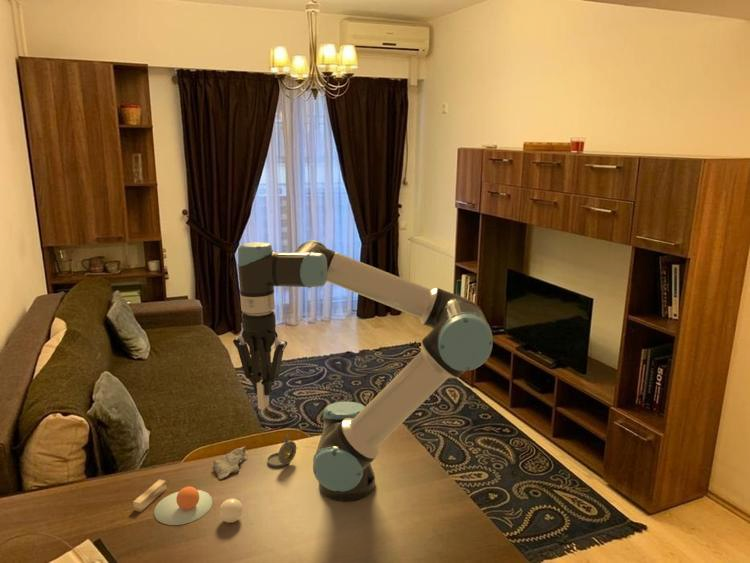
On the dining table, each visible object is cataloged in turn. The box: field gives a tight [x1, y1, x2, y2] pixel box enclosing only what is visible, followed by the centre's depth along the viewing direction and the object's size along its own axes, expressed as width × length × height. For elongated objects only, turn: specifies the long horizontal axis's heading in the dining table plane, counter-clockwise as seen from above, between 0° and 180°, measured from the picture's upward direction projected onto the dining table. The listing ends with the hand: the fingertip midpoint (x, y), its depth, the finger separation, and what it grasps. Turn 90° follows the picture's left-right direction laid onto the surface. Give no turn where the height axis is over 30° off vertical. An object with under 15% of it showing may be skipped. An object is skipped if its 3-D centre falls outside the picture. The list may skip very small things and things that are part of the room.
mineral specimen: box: [212, 446, 249, 480], centre depth 158 cm, size 6×12×4 cm, turn 138°
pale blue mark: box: [153, 489, 213, 526], centre depth 141 cm, size 14×14×1 cm
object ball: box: [176, 486, 199, 510], centre depth 140 cm, size 6×6×6 cm
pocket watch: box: [266, 433, 297, 468], centre depth 160 cm, size 8×8×10 cm
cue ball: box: [219, 498, 244, 524], centre depth 136 cm, size 6×6×6 cm
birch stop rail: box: [132, 479, 168, 513], centre depth 144 cm, size 10×2×2 cm, turn 162°
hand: (263, 406), depth 132 cm, fingers closed
